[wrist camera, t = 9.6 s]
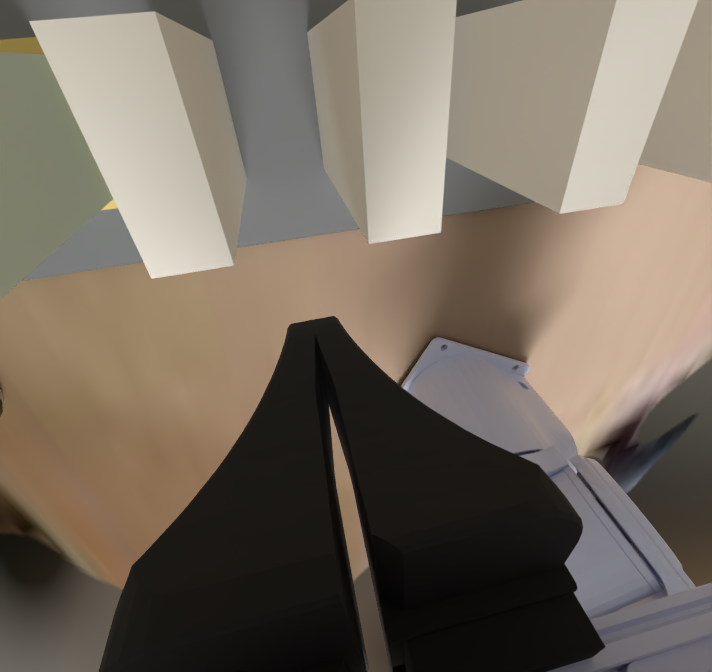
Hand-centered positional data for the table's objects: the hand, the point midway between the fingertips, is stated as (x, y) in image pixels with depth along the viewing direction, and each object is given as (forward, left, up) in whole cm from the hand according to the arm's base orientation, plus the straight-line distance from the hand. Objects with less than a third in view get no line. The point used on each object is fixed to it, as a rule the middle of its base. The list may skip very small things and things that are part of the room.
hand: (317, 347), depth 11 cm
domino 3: (0, -6, -10) cm, 11 cm away
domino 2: (-5, -9, -10) cm, 14 cm away
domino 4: (+5, -3, -10) cm, 11 cm away
